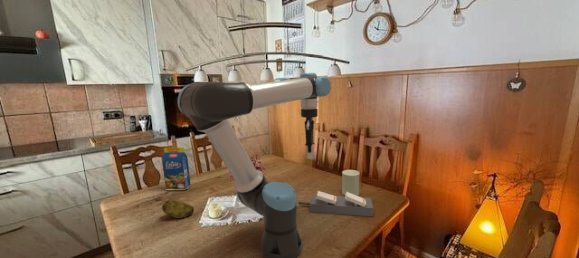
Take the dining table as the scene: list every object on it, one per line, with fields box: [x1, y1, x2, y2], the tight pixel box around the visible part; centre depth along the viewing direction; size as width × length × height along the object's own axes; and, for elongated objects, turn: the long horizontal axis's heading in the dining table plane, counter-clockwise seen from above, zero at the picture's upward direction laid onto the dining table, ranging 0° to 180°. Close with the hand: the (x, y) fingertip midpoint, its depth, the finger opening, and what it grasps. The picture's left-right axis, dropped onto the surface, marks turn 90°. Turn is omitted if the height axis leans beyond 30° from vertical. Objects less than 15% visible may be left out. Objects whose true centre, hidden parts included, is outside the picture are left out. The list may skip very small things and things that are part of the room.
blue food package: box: [162, 147, 191, 190], centre depth 145 cm, size 6×12×25 cm, turn 86°
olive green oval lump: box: [161, 199, 195, 219], centre depth 115 cm, size 8×13×8 cm, turn 80°
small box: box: [344, 192, 366, 207], centre depth 113 cm, size 9×5×2 cm, turn 79°
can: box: [341, 169, 360, 196], centre depth 134 cm, size 9×9×12 cm
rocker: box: [316, 190, 338, 204], centre depth 116 cm, size 9×5×2 cm, turn 79°
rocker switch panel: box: [298, 194, 374, 217], centre depth 118 cm, size 34×10×5 cm, turn 79°
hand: (310, 158), depth 116 cm, fingers closed
